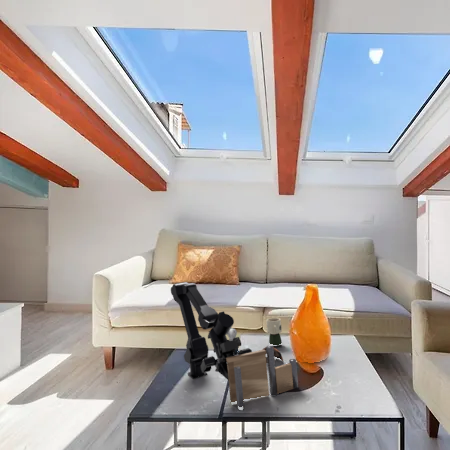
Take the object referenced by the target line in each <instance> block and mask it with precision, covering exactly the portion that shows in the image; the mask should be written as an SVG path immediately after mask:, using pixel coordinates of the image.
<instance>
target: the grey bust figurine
mask: <svg viewBox="0 0 450 450" xmlns="http://www.w3.org/2000/svg"><path fill="white" fill-rule="evenodd" d="M237 334H238V331H237V330H236V328H232V327H231V329H230V331H229V332H228V334H227V336H228V340H230V341H233V338H236V337H237ZM238 348H239V349H240V346H239V347H238ZM237 351H238V349H236V350H235V353H234V354H238V353H237Z"/></svg>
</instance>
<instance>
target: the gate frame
mask: <svg viewBox="0 0 450 450" xmlns="http://www.w3.org/2000/svg"><path fill="white" fill-rule="evenodd" d="M265 347H266V349H267V354H266V357H267V361H268V363H267V374H268V386H269V395H270V394H271V395H276V396H277V395H279V393H280V394H282V393H284V392H285V393H286V392H287V391H291V390H294V389H295V390H296V389H299V381H298V368H297V359H295V358H290V359H289V361H288V363H285V364H281V365H277V366H276V365H275V364H276V363H275V361H274V359H275V357H274V351H273V347H274V346H269V345H266V346H265ZM234 373H235V384H236V396H237V404H236V406H237V405H238V406H239V407H242V406H244V407H245V404H244V403H245V402H244V401H243V390H242V378H241V368H240V367H239V366H237V367H234ZM271 395H270V396H271Z"/></svg>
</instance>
